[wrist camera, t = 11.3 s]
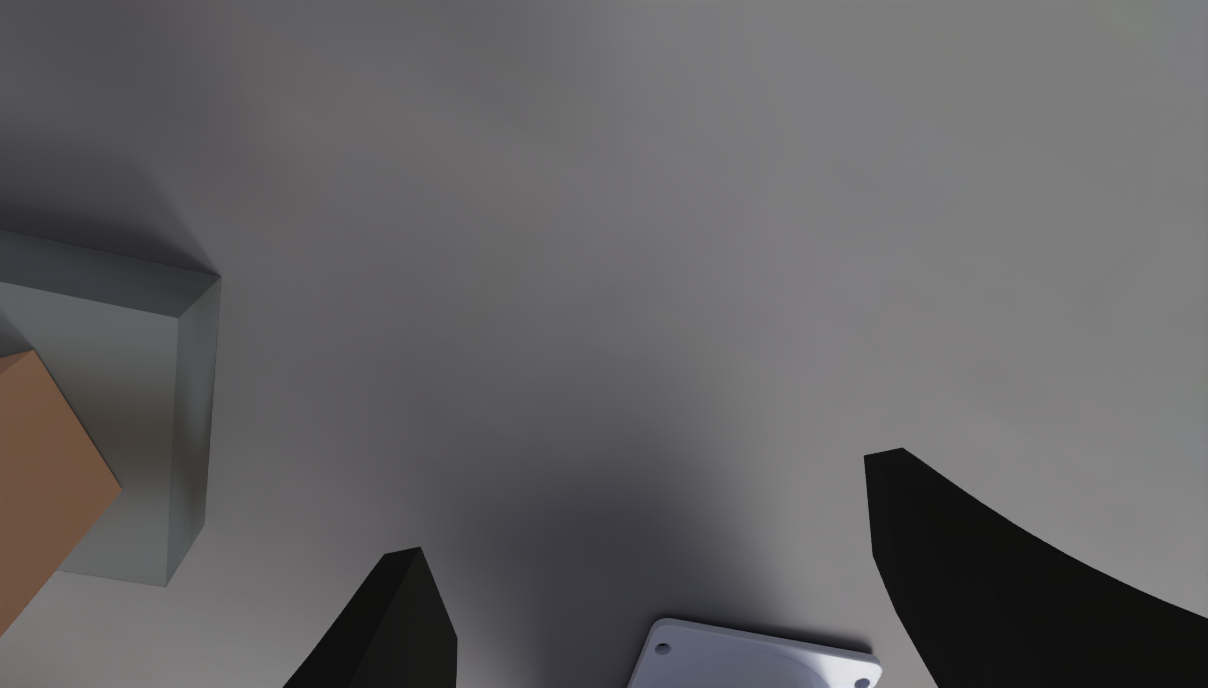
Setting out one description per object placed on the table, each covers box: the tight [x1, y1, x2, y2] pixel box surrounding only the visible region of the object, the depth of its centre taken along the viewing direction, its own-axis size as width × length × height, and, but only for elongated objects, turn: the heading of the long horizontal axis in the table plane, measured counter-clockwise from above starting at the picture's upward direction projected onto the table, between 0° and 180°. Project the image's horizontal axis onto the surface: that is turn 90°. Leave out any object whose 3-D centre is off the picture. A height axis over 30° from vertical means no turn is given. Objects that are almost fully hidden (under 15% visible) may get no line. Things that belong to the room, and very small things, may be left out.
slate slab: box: [0, 229, 221, 587], centre depth 21 cm, size 8×8×3 cm
